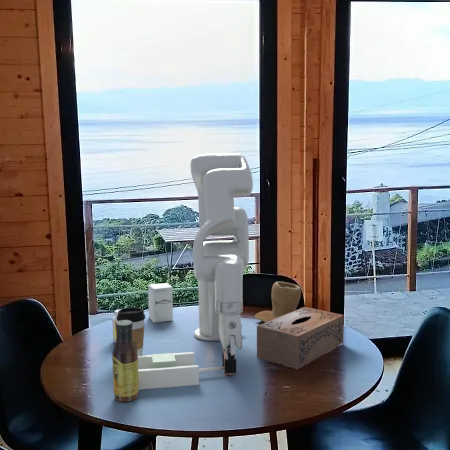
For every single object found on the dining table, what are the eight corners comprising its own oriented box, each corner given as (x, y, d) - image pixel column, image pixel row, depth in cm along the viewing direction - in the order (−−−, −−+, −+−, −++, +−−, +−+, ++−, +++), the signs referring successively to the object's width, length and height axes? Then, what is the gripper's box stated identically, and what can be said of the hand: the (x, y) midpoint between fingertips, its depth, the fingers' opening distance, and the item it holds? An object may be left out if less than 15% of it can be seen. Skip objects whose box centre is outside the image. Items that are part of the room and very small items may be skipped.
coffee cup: (123, 365, 165) (121, 315, 163) (114, 356, 172) (112, 308, 170) (150, 360, 169) (149, 311, 167) (141, 351, 176) (139, 304, 174)
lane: (194, 368, 162) (193, 348, 161) (199, 384, 151) (198, 363, 151) (129, 373, 159) (128, 353, 158) (130, 390, 148) (129, 368, 147)
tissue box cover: (304, 336, 190) (304, 306, 188) (343, 345, 181) (343, 315, 179) (256, 358, 171) (256, 325, 169) (297, 370, 161) (297, 336, 160)
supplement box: (153, 323, 204) (152, 288, 202) (148, 317, 211) (147, 284, 209) (173, 321, 206) (172, 286, 205) (168, 315, 213) (167, 282, 211)
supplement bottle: (133, 341, 185) (132, 310, 184) (118, 345, 182) (117, 314, 180) (125, 337, 189) (124, 307, 188) (110, 340, 186) (108, 310, 184)
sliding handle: (232, 368, 162) (232, 347, 161) (236, 376, 156) (236, 355, 155) (152, 374, 158) (151, 353, 157) (153, 383, 152) (152, 361, 151)
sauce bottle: (115, 392, 147) (112, 318, 144) (139, 391, 147) (137, 317, 145) (112, 404, 140) (109, 326, 138) (138, 403, 141) (135, 325, 138)
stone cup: (307, 326, 199) (308, 284, 197) (282, 333, 192) (282, 289, 190) (278, 315, 211) (278, 276, 209) (253, 322, 204) (253, 281, 202)
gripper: (248, 313, 148) (248, 381, 151) (236, 297, 164) (237, 358, 167) (220, 315, 147) (220, 383, 150) (210, 298, 163) (211, 360, 166)
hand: (229, 369), depth 158 cm, fingers closed on sliding handle, 2 cm apart
